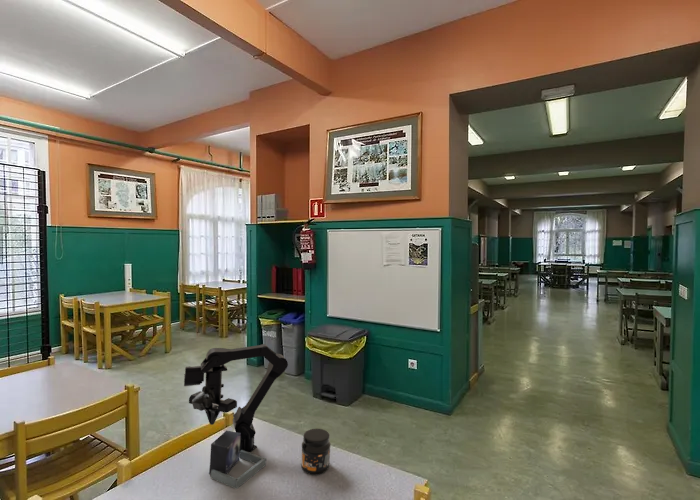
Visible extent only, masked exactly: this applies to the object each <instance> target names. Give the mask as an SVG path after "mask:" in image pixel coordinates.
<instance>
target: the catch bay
mask: <svg viewBox="0 0 700 500" xmlns="http://www.w3.org/2000/svg"><path fill="white" fill-rule="evenodd" d="M239 459H242V460H245V461H247V462H250V463H254V464H253V465H252V466H251V467H250V468H249V469H247V470H246V471H245V472H243V473H242V474H241V475H240V476H238V477H237V478H236V477H234V476H231V475H229V474H227V475H226V474H224V473H221V472H219V471H216V470H214V469H213V470H212V471H211V474H210V479H212V480H214V481H217V482H219V483H220V484H224V485H226V486H229V487H231V488H233V489H236V490H237V489H239V487H241V486H242V485H243V484H244V483H246V482H247V481H248V480H249V479H251V477H253V476H254V475H255V474H257V473H258V472H259V471H260V470H261V469H264V467H266V465H267V458H266V457H263V456H260V455H257V454H255V453H252V452H250V453H249V452H247V451H244V450H241V451H240V457H239Z"/></svg>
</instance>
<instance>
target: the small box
mask: <svg viewBox="0 0 700 500" xmlns="http://www.w3.org/2000/svg"><path fill="white" fill-rule="evenodd" d="M240 437H241V433H238V432H236V431H231V430H225V431H224V432H223V433H222V434H221V435H220V436H218V438H216V439H215V440H214V441H213V442H212V443H210V452H209V453H210V456H209V457H210V458H209V472H208V474H209V475H211V471H212V470H213V469H214V470H216V471H219V472H221V473H224V474H226V475H228V474H229V473H230V471H231V470H232V469H233V468H234V467H235V466H236V465H237V464H238V462H239V461H240Z"/></svg>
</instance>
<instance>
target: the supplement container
mask: <svg viewBox="0 0 700 500" xmlns="http://www.w3.org/2000/svg"><path fill="white" fill-rule="evenodd" d="M302 440H303V441H302V442H301V460H300V467H301V470H302V471H303V472H304V473H306V474H308V475H311V476H317V475H322V474H324V473H326V472H327V471H328V470H329V469H330V464H331V463H330V462H331V460H330V459H331V458H330V457H331V442H330V432H329V431H327V430H325V429H323V428H311V429H308V430H306V431H305V432H304V433H303V438H302Z"/></svg>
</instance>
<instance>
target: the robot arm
mask: <svg viewBox="0 0 700 500" xmlns="http://www.w3.org/2000/svg"><path fill="white" fill-rule="evenodd" d="M258 357H263V358H264V359H266V360H267V362H269V363H268V364H267V368H266V372H265V374H264V376H263V377H262V379H261V380H260V382H259V383H258V385H257V387H256V388H255V390H254V391H253V393H252V395H251V396H250V398H249V399H248V401H247V402H246V405H244V406H243V407H241V406H238V401H237V400H236V399H233V398H226V399H223V398H224V394H222V388H224V386H225V385H224V383H222V381H223V380H222V376H223V372H227V371H228V366H226V364H228V363H230V362H232V361H239V360H240V361H241V360H246V359H252V358H258ZM288 367H289V364H288V360H287V358H285V356H284V355H283V354H280V353H276V352H275V351H274V350H273V349H271V348H270V347H268V345H266V344H265V343H262V344H260V345H259V344H257V345H252V346H245V347H237V348H225V347H212V348H210V349H208V351H207V352H206V354H205V358H204V359H203V360H202V362H201V363H200V365H197V366H185V367H184V368H185V369H184V371H185V372H184V376H183V379H184V380H183V387H190V386H199V385H201V384H203V383H204V381H205V384H204V386H202V388H201V390H200V391H197V392H195V393H193V394H191V395H190V396H189V397H188V404H190V405H192V407H193V409H194V410H198V411H201V412H202V411H204V412H205V415H206V417H207V420H208V423H209V425H211V426H212V425H214V424H215V423H216V420H217V418H218V417H219V415H220V412H222V413H229V412H231V411H232V410H234V409H236V408H237V410H236V412H235V413H234V414H233V415H232V417H233V419H232V424H233V428H234V432H238V433H241V437H240V451H241V450H244V451H247V452H249V453H252V452H253V451H255V450H256V449H257V448H258V446H257V445H255V435H256V430H255V429H256V428H255V426H254V425H253V421H254V418H255V413H256V411H257V409H258V408H259V407H260V405H261V403H262V401H263V400H264V398H265V397H266V395H267V394H268V392H269V390H270V389H271V387H272V385H273V384H274V382H275V381H276V380H277V379H278V378H280V377H281V375H283V374H284V372H285V371H286V370H287V369H288Z"/></svg>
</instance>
